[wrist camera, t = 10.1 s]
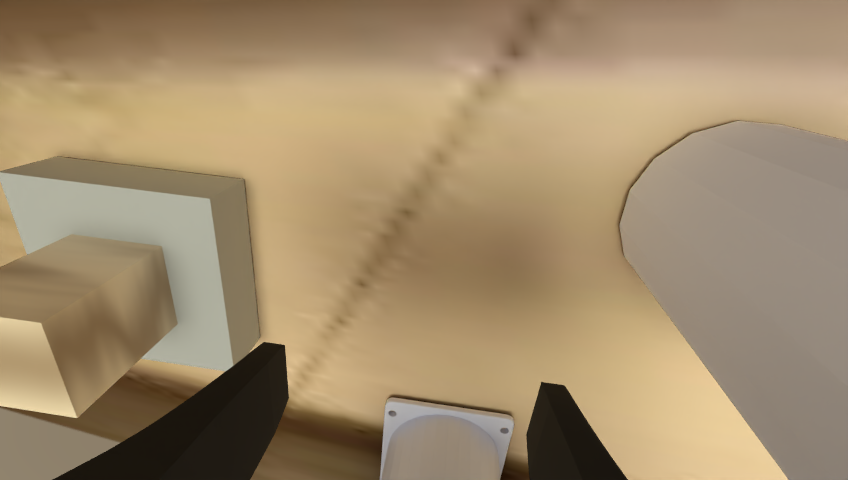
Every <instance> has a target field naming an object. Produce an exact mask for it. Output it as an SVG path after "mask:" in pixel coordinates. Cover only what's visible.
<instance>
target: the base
mask: <svg viewBox="0 0 848 480" xmlns="http://www.w3.org/2000/svg"><path fill="white" fill-rule="evenodd" d="M0 182H1V185H2V187H3V190H4V193H5V196H6V198H7V201H8V204H9V206H10V209H11V212H12V215H13V217H14V220H15V223H16V226H17V228H18V231H19V234H20V237H21V239H22V242H23V245H24V247H25V250H26V253H27V255H28V254H30V253H32V252H34V251H36V250H39V249H41V248H43V247H45V246H47V245H49V244H52V243H54V242H56V241H58V240H60V239H62V238H64V237H67V236H69V235H71V234H74V235H81V236H89V237H96V238H104V239H111V240H119V241H127V242H134V243H142V244H149V245H157V246H162V250H163V255H164V259H165V264H166V269H167V274H168V279H169V284H170V288H171V293H172V298H173V303H174V308H175V313H176V317H177V322H178V324H177V325H176V326H175V327H174V328H173V329H172V330H171V331H170V332H169V333H168V334H166V335H165V336H164V337H163V338H162V339H161V340H160V341H159V342H158V343H157V344H156V345H155V346H154V347H153V348H152V349H150V350H149V351H148V352H147V353H146V354H145V355H144V356H143V357H142V358H141V359H147V360H154V361H160V362H167V363H174V364H180V365H187V366H194V367H200V368H207V369H214V370H220V371H227V370H228V369H230V368H231V367H232V366H233V365H235V364H236V363H237V362H239V361H240V360H241V359H242V358H244V357H245V356H246V355H248V353H249V352H250V351H251V349H252V348H253V346H254V345H255V344H256V342H257V341H258V340H259V338H260V332H259V322H258V312H257V302H256V292H255V282H254V273H253V263H252V253H251V243H250V233H249V223H248V213H247V203H246V193H245V183H244V179H238V178H230V177H222V176H214V175H205V174H197V173H189V172H181V171H173V170H165V169H156V168H148V167H140V166H132V165H124V164H116V163H107V162H99V161H91V160H83V159H75V158H67V157H58V156H57V157H53V158H49V159H45V160H41V161H38V162H34V163H30V164H26V165H22V166H18V167H14V168H11V169H7V170H3V171H0Z"/></svg>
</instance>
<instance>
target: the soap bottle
mask: <svg viewBox="0 0 848 480" xmlns="http://www.w3.org/2000/svg"><path fill="white" fill-rule="evenodd" d="M619 226H620V233H621V239H622V246H623V252H624V257H625V258H626V259H627V261H628V262H629V263H630V265H631V266H632V268H633V269H634V270H635V272H636V273H637V274H638V276H639V277H640V278H641V280H642V281H643V282H644V284H645V285H646V287H647V288H648V289H649V291H650V292H651V293H652V295H653V296H654V297H655V299H656V300H657V301H658V303H659V304H660V306H661V307H662V308H663V310H664V311H665V312H666V314H667V315H668V316H669V318H670V319H671V320H672V322H673V323H674V325H675V326H676V327H677V329H678V330H679V331H680V333H681V334H682V335H683V337H684V338H685V339H686V341H687V342H688V344H689V345H690V346H691V348H692V349H693V350H694V352H695V353H696V354H697V356H698V357H699V358H700V360H701V361H702V363H703V364H704V365H705V367H706V368H707V369H708V371H709V372H710V373H711V375H712V376H713V377H714V379H715V380H716V382H717V383H718V384H719V386H720V387H721V388H722V390H723V391H724V392H725V394H726V395H727V396H728V398H729V399H730V401H731V402H732V403H733V405H734V406H735V407H736V409H737V410H738V411H739V413H740V414H741V415H742V417H743V418H744V420H745V421H746V422H747V424H748V425H749V426H750V428H751V429H752V430H753V432H754V433H755V435H756V436H757V437H758V439H759V440H760V441H761V443H762V444H763V445H764V447H765V448H766V449H767V451H768V452H769V454H770V455H771V456H772V458H773V459H774V460H775V462H776V463H777V464H778V466H779V467H780V468H781V470H782V471H783V473H784V474H785V475H786V477H787V478H788V479H789V480H848V141H846V140H842V139H838V138H834V137H830V136H826V135H822V134H818V133H814V132H810V131H805V130H801V129H797V128H793V127H789V126H785V125H781V124H769V123H758V122H747V121H735V122H731V123H728V124H724V125H721V126H717V127H713V128H710V129H706V130H703V131H699V132H695V133H692V134H691V135H689V136H687V137H686V138H684V139H683V140H681V141H680V142H678V143H677V144H675V145H674V146H672V147H671V148H669V149H668V150H666V151H665V152H663V153H662V154H660V155H659V156H657V157H656V158H654V160H653V161H652V162H651V163H650V165H649V166H648V167H647V169H646V170H645V171H644V172H643V174H642V175H641V176H640V178H639V179H638V180H637V181H636V183H635V184H634V185H633V186H632V188H631V189H630V191H629V195H628V198H627V201H626V205H625V208H624V211H623V215H622V218H621V221H620V225H619Z"/></svg>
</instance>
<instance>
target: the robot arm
mask: <svg viewBox="0 0 848 480" xmlns="http://www.w3.org/2000/svg"><path fill="white" fill-rule="evenodd" d="M288 399H289V395H288V381H287V367H286V354H285V345H281V344H274V343H267V342H264V343H262V344H261V345H260V346H258V347H257V348H255V349H254V350H253V351H252V352H250V353H249V354H248V355H246V356H245V357H244V358H242V359H241V360H240V361H239V362H237V363H236V364H235V365H233V366H232V367H231V368H230V369H228V370H227V371H226V372H224V373H223V374H222V375H220V376H219V377H218V378H216V379H215V380H214V381H212V382H211V383H210V384H208V385H207V386H206V387H204V388H203V389H202V390H200V391H199V392H198V393H196V394H195V395H194V396H192V397H191V398H189V399H188V400H186V401H185V402H184V403H182V404H181V405H179V406H178V407H176V408H175V409H173V410H172V411H170V412H169V413H168V414H166V415H165V416H163V417H162V418H160V419H159V420H157V421H156V422H154V423H153V424H151V425H149V426H148V427H146V428H145V429H143V430H141V431H140V432H138V433H137V434H135V435H133V436H132V437H130V438H128V439H126V440H125V441H123V442H121V443H120V444H118V445H116V446H115V447H113V448H111V449H109V450H108V451H106V452H104V453H102V454H100V455H98V456H97V457H95V458H93V459H91V460H90V461H87V462H85V463H83V464H81V465H80V466H78V467H76V468H74V469H72V470H70V471H68V472H66V473H65V474H63V475H61V476H59V477H57V478H55V479H53V480H250V479H251V477H252V475H253V473H254V471H255V469H256V468H257V466H258V464H259V462H260V460H261V458H262V456H263V455H264V453H265V451H266V449H267V447H268V445H269V443H270V441H271V440H272V438H273V436H274V434H275V432H276V429H277V427H278V424H279V422H280V419H281V417H282V414H283V412H284V409H285V407H286V404H287V401H288ZM393 411H395V412H393ZM513 428H514V419H513V417H511V416H510V415H507V414H500V413H494V412H487V411H480V410H474V409H467V408H460V407H454V406H447V405H440V404H434V403H427V402H420V401H414V400H407V399H400V398H389V399H387V401H386V404H385V414H384V429H383V443H382V458H381V472H380V480H500V478H501V474H502V470H503V466H504V462H505V459H506V455H507V451H508V447H509V443H510V439H511V436H512V432H513ZM527 451H528V466H529V476H530V480H628V479H627V478H626V477H625V475H624V474H623V472H622V471H621V470H620V468H619V467H618V466H617V464H616V463H615V461H614V460H613V458H612V457H611V456H610V454H609V453H608V451H607V450H606V448H605V447H604V446H603V444H602V443H601V441H600V440H599V438H598V437H597V435H596V434H595V432H594V431H593V429H592V428H591V426H590V425H589V423H588V422H587V420H586V419H585V417H584V415H583V414H582V412H581V411H580V409H579V407H578V406H577V404H576V403H575V401H574V400H573V398H572V396H571V395H570V393H569V392H568V390H567V389H566V387H565V386H564V385H558V384H551V383H544V382H541V386H540V389H539V393H538V396H537V400H536V403H535V407H534V410H533V414H532V417H531V420H530V424H529V427H528V431H527Z"/></svg>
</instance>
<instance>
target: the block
mask: <svg viewBox="0 0 848 480" xmlns="http://www.w3.org/2000/svg"><path fill="white" fill-rule="evenodd" d="M177 324H178V322H177V317H176V313H175V308H174V303H173V298H172V293H171V288H170V284H169V279H168V274H167V269H166V264H165V259H164V255H163V250H162V246H157V245H149V244H142V243H134V242H127V241H119V240H111V239H104V238H96V237H89V236H81V235H74V234H71V235H69V236H67V237H64V238H62V239H60V240H58V241H56V242H54V243H52V244H49V245H47V246H45V247H43V248H41V249H39V250H36V251H34V252H32V253H30V254H28V255H26V256H23V257H21V258H19V259H17V260H15V261H13V262H10V263H8V264H6V265H4V266H2V267H0V406H5V407H11V408H18V409H24V410H30V411H36V412H43V413H49V414H55V415H62V416H68V417H74V418H78V417H79V416H80V415H81V414H82V413H83V412H84V411H85V410H86V409H87V408H88V407H90V406H91V405H92V404H93V403H94V402H95V401H96V400H97V399H98V398H99V397H100V396H101V395H102V394H103V393H104V392H106V391H107V390H108V389H109V388H110V387H111V386H112V385H113V384H114V383H115V382H116V381H117V380H118V379H119V378H121V377H122V376H123V375H124V374H125V373H126V372H127V371H128V370H129V369H130V368H131V367H132V366H133V365H134V364H135V363H137V362H138V361H139V360H140V359H141V358H142V357H143V356H144V355H145V354H146V353H147V352H148V351H149V350H150V349H152V348H153V347H154V346H155V345H156V344H157V343H158V342H159V341H160V340H161V339H162V338H163V337H164V336H165V335H166V334H168V333H169V332H170V331H171V330H172V329H173V328H174V327H175V326H176V325H177Z"/></svg>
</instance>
